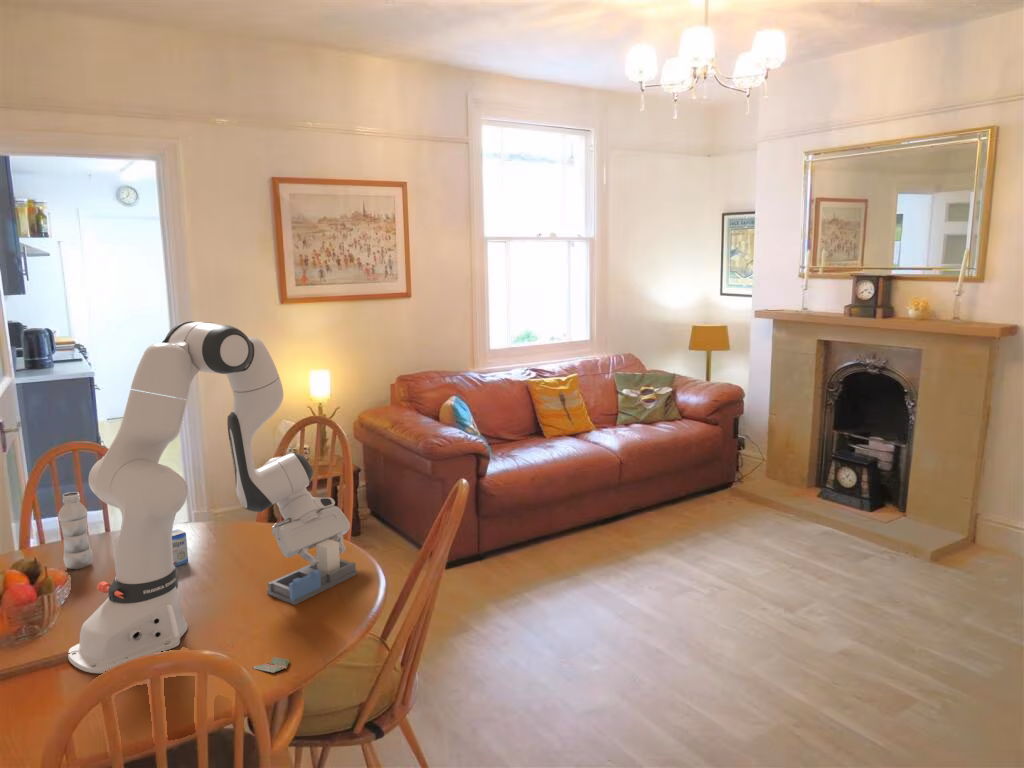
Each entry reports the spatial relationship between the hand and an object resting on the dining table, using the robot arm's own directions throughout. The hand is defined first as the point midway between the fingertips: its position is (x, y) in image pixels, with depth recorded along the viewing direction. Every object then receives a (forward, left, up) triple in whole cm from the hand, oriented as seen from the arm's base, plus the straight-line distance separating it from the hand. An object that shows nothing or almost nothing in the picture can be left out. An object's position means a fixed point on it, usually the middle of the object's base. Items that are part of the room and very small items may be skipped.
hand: (329, 557), depth 180 cm
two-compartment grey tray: (-5, +1, -5) cm, 7 cm away
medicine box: (-19, +41, -5) cm, 45 cm away
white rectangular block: (0, +1, -4) cm, 4 cm away
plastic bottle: (-33, +60, -5) cm, 68 cm away
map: (-35, -14, -6) cm, 38 cm away
